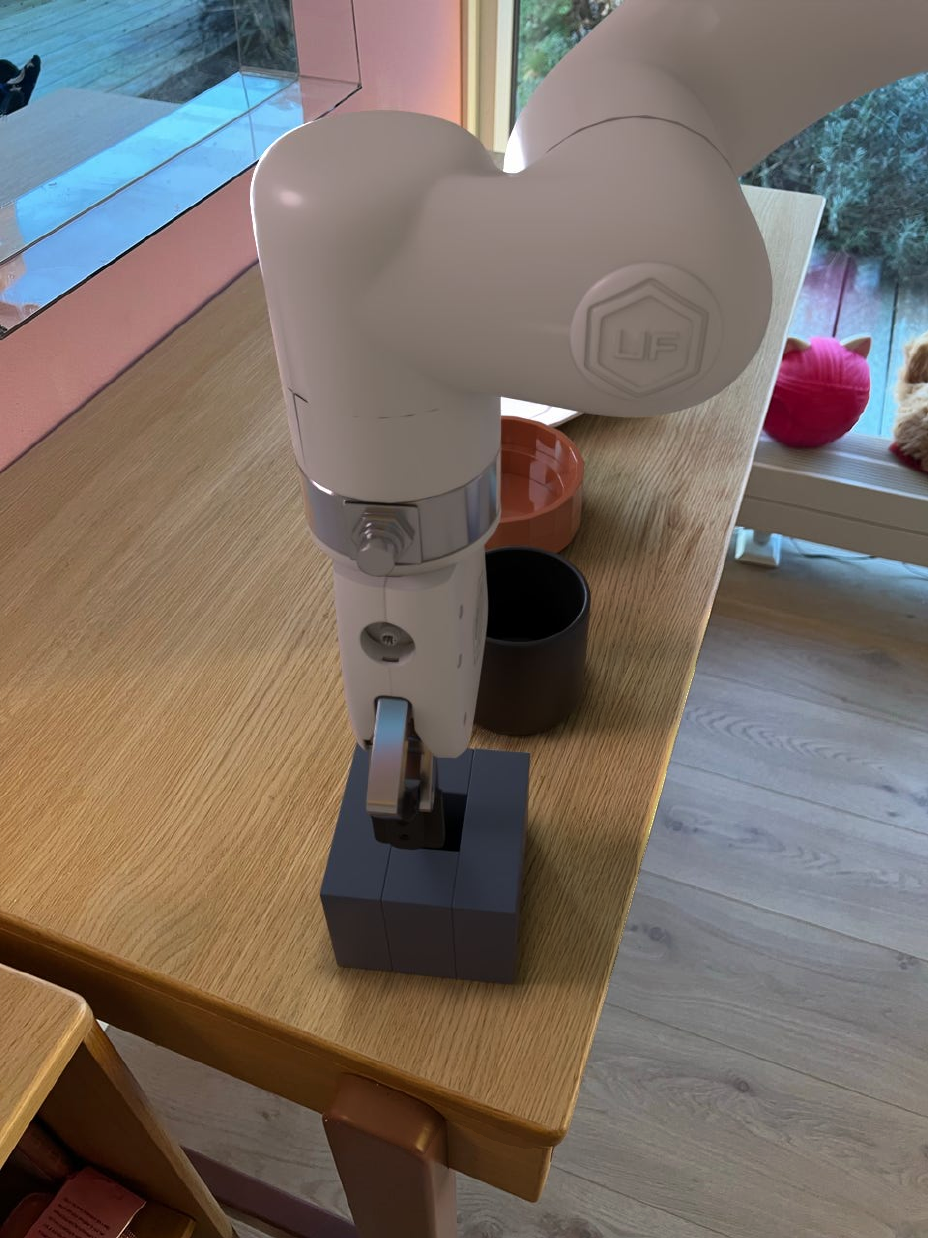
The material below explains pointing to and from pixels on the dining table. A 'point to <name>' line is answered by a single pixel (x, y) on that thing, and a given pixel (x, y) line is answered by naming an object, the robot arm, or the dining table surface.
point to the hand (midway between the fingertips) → (425, 756)
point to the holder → (434, 876)
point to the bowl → (537, 486)
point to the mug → (532, 640)
